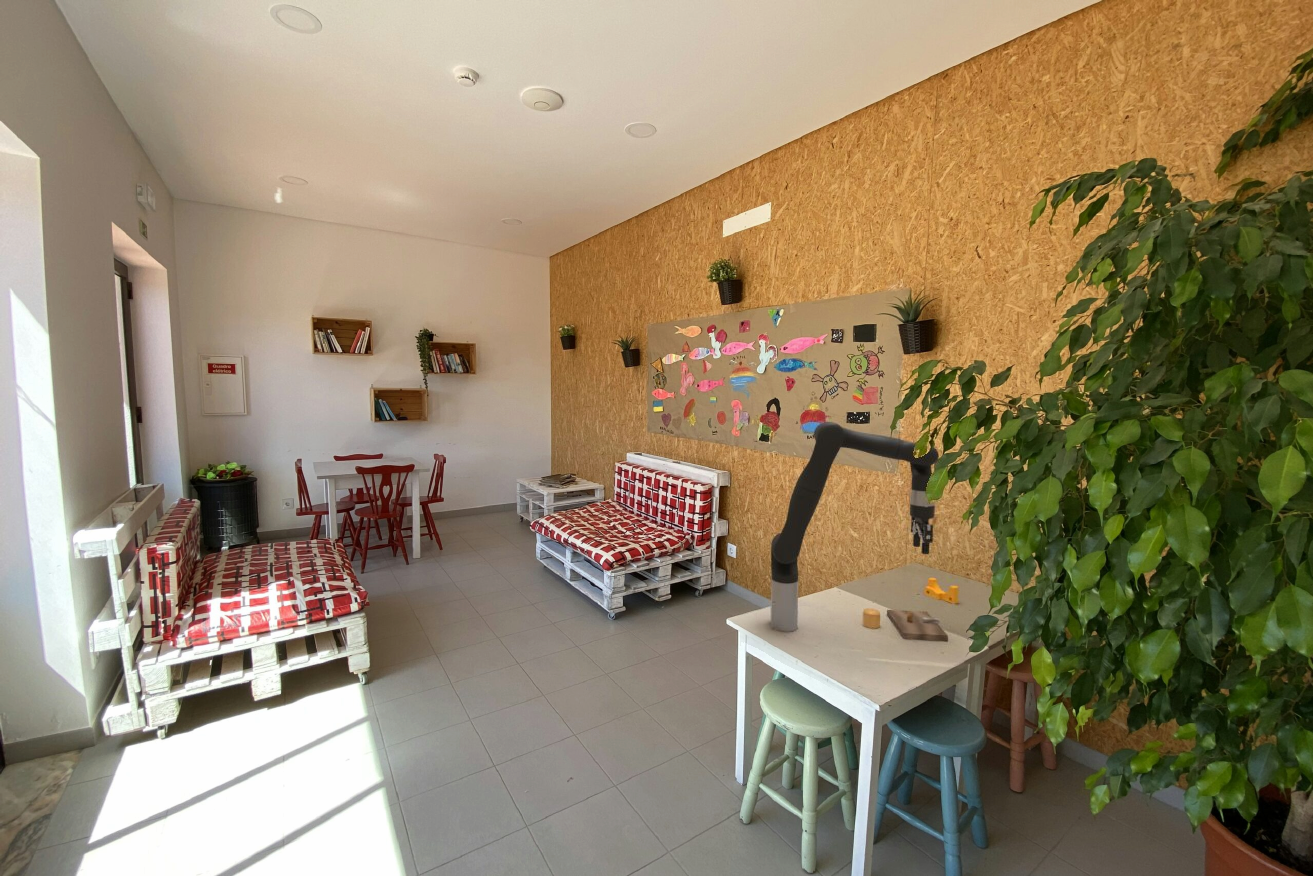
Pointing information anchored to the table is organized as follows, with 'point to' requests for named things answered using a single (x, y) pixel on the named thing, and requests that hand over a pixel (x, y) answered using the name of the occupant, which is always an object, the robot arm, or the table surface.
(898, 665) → the table surface
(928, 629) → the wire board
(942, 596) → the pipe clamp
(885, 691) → the table surface
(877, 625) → the orange rounded block
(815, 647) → the table surface
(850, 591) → the table surface
